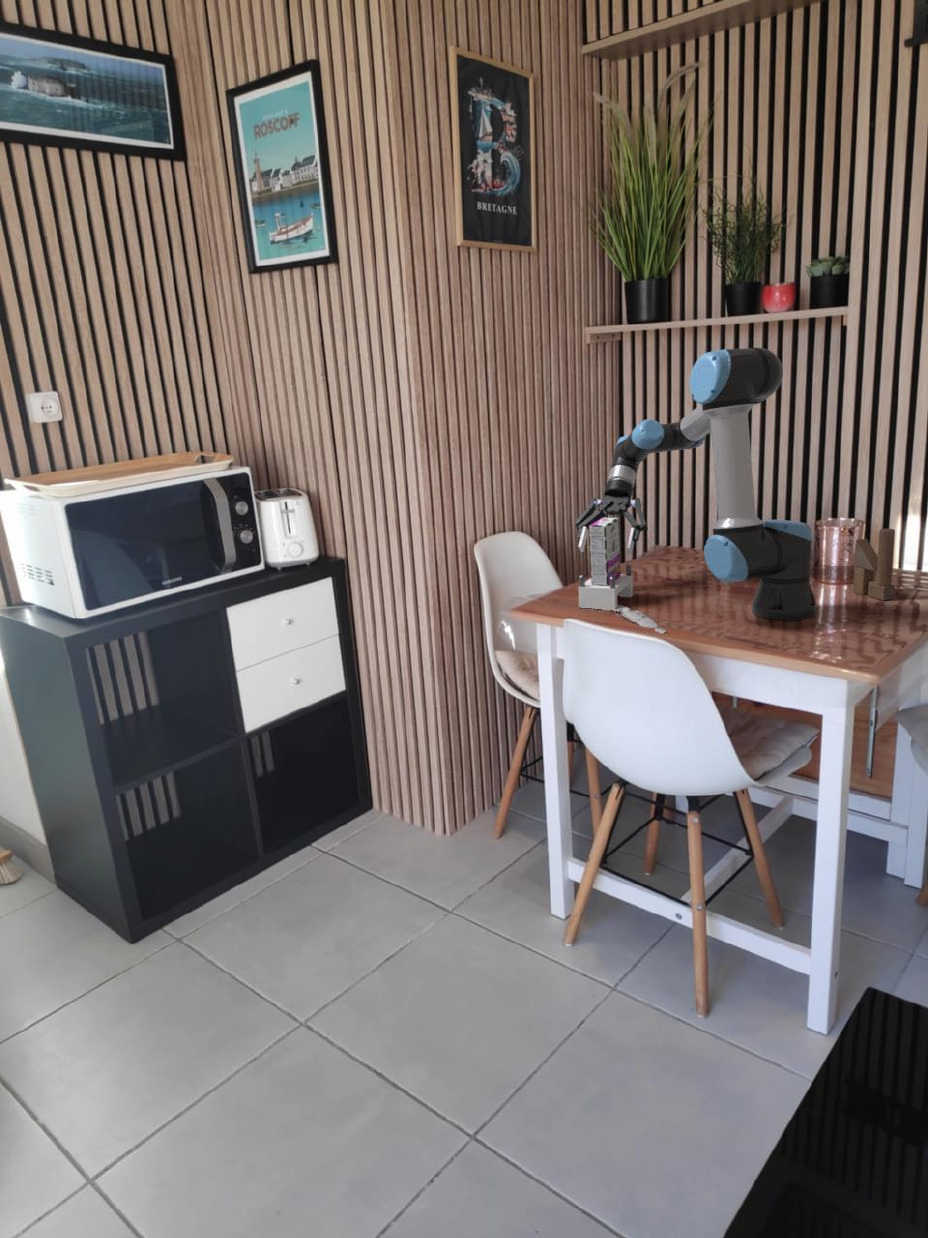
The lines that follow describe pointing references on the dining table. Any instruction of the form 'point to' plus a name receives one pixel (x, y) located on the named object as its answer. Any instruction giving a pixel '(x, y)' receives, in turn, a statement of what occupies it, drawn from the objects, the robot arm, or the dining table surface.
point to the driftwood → (638, 618)
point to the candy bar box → (604, 551)
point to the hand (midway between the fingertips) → (604, 550)
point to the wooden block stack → (875, 567)
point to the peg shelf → (605, 591)
